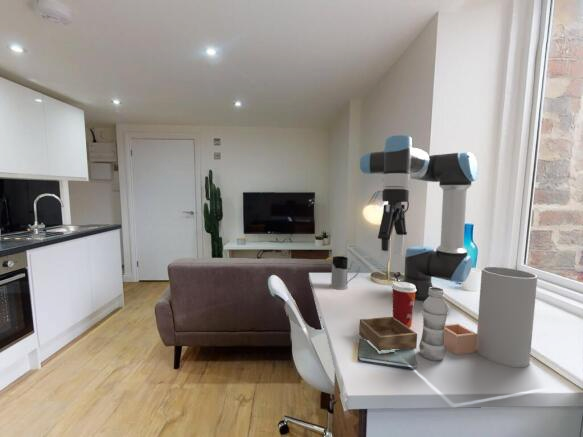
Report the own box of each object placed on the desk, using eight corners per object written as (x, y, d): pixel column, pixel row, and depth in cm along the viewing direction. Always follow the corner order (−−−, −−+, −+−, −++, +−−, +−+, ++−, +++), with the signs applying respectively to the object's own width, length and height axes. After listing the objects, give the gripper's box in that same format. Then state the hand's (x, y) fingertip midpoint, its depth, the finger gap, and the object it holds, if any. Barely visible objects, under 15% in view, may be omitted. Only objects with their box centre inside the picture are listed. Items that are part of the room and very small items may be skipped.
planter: (456, 341, 90) (458, 323, 90) (475, 353, 83) (477, 334, 83) (438, 343, 88) (439, 325, 88) (456, 356, 82) (457, 336, 81)
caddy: (392, 330, 97) (392, 316, 96) (416, 349, 85) (417, 333, 84) (358, 334, 94) (359, 319, 93) (379, 354, 82) (380, 337, 81)
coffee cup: (416, 332, 96) (419, 289, 95) (391, 329, 97) (393, 287, 96) (411, 322, 104) (413, 282, 103) (388, 319, 106) (390, 280, 105)
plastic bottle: (414, 351, 83) (418, 285, 82) (436, 351, 84) (440, 285, 83) (426, 364, 77) (431, 293, 76) (450, 364, 78) (455, 293, 76)
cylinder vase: (533, 375, 74) (542, 281, 72) (476, 359, 80) (482, 273, 78) (525, 353, 84) (532, 271, 82) (475, 341, 91) (481, 264, 89)
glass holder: (330, 283, 148) (331, 255, 147) (358, 285, 146) (359, 257, 145) (330, 289, 139) (331, 259, 138) (359, 291, 138) (361, 260, 136)
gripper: (394, 190, 98) (391, 250, 99) (368, 186, 78) (365, 262, 79) (418, 190, 93) (414, 253, 95) (396, 186, 73) (392, 267, 75)
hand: (392, 258), depth 87 cm, fingers open, 13 cm apart
